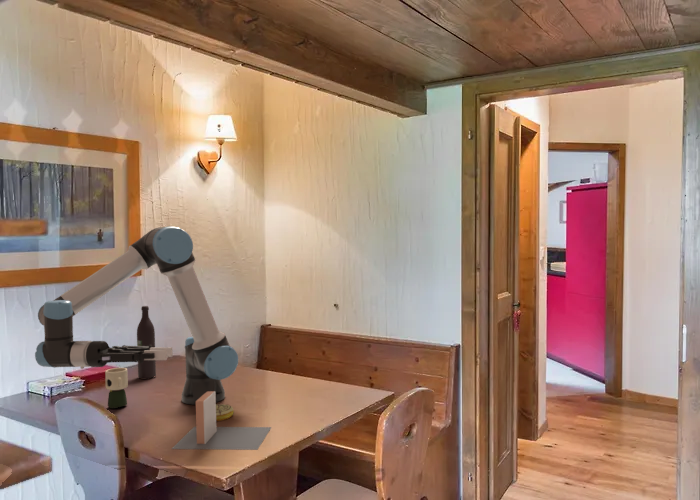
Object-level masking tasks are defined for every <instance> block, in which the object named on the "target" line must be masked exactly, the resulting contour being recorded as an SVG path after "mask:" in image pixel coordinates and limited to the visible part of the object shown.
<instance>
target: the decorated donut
mask: <svg viewBox="0 0 700 500" xmlns="http://www.w3.org/2000/svg"><path fill="white" fill-rule="evenodd" d="M233 415H234V407H233V406H232V405H230V404H223V403H221V404H220V403H219V404H216V422H221V421H225V420H228V419H230V418H232V417H233Z"/></svg>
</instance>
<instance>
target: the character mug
mask: <svg viewBox="0 0 700 500" xmlns="http://www.w3.org/2000/svg"><path fill="white" fill-rule="evenodd" d="M104 373H105V389H106V390H108V391H109V392H108V398H107V407H108V408H109V407H110V408H109V409H116V408H118V407H119V408H120V407H125V406H127V405H128V399H127V398H128V397H127V395H126V394H127V393H126V390H125V389H127V388H128V386H129V385H128V384H129V383H128V368H126V367H115V368H110V369H106V370H105V371H104ZM113 407H114V408H113Z"/></svg>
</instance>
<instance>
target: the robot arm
mask: <svg viewBox="0 0 700 500" xmlns="http://www.w3.org/2000/svg"><path fill="white" fill-rule="evenodd" d="M193 250H194V244H193V239H192V238H191V235H190V234H189V233H188V232H187V231H186V230H184V229H183V228H180V227H176V226H171V225H170V226H168V225H167V226H163V227H155V228H153V229H151V230H149V231H148V232H146V234H144V235H143V236H142V237H140V238H138V240H136V241H135V242H133V243H132V244H131V245H129V246H128V249H127V251H126V252H124V253H123V254H121V255H120V256H118V257H116V258H115V259H114V260H111V261H110V262H109V263H108V264H106V265H104V266H103V267H101V268H100V269H98V270H97V271H95V272H94V273H92V274H91V275H89V276H88V277H86V278H85V279H84V280H82V281H80V282H79V283H77V284H76V285H75V286H73V287H71V288H70V289H68V290H67V291H65V292H63V294H61V295H59V296H57V297H56V298H55V299H53V300H48V301H45V303H43V304H42V305H41V307H39V309H38V311H37V317H38V320H39V323H40V324H41V325H42V326H43V329H44V340H43V341H41V342H39V343H38V345H37V346H36V348H35V349H36V351H35V353H34V359H35V361H36V363H37V364H38V365H39V366H40V367H44V368H47V367H48V368H79V367H80V369H81V370H83V369H85V368H89V367H90V368H103V367H105V366H106V365H107V364H108V363H138V361H140V363H143V359H144V360H156V361H167V360H168V358H172V357H173V354H174V353H173V346H172V347H171V346H170V347H156V346H155V347H152V345H149V346H137V345H125V344H124V345H121V346H119V345H113V346H111V347H110V346H109V344H108V342H107V341H105V340H93V341H92V340H74V326H73V325H74V324H73V322H74V321H73V320H74V318H73V317H74V316H76V314H78V313H80V312H81V311H83V310H84V309H86V308H88V306H90V305H92V304H93V303H95V302H96V301H98V300H99V299H100V298H101V297H103V296H105V295H106V294H108V293H109V292H111V291H112V290H113V289H114V288H116V287H118V286H119V285H121V284H122V283H123V282H125V281H127V280H128V279H129V278H131V277H132V276H134V275H136V274H137V273H139V272H140V271H142V270H148V269H149V268H151V267H153V266H154V265H157V267H158V270H159V272H160V274H161V275H164V276H166V277H167V278H168V280H169V284H170V286H171V289H172V290H173V292H174V295H175V298H176V300H177V302H178V305H179V308H180V310H181V312H182V315H183V318H184V319H185V320H184V321H185V322H186V325H187V327H188V329H189V332H190V335H191V336H188V337H187V338H186V339H185V345H184V349H185V351H184V354H185V382H184V386H183V389H182V392H181V402H182V403H183V404H187V405H194V406H196V401H197V400H198V399H199V398H200V397H201V396H202V395H204V394H205V393H206V392H207V391H215V393H216V403H218V402H221V401H222V400H224V399H225V398H226V396H225V395H226V391H225V389H224V386H223V383H222V380H225V379H227V378H229V377H231V376H232V375H233V374H234V373H235V372H236V369H237V367H238V366H239V365H238V364H239V354H238V352H237V351H236V350H235V348H234V347H232V346H230V344H229V341H228V338H227V336H226V333H225V332H222V331H220V330H219V328H218V325H217V323H216V321H215V319H214V315H213V313H212V311H211V308H210V306H209V303H208V300H207V299H206V296H205V294H204V291H203V289H202V286H201V283H200V281H199V278H198V276H197V274H196V272H195V268H194V265H195V263H196V258H195V256H194V254H193Z"/></svg>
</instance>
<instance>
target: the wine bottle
mask: <svg viewBox="0 0 700 500" xmlns="http://www.w3.org/2000/svg"><path fill="white" fill-rule="evenodd" d="M140 309H141V319H140V321H139V323H138V325H137V329H136V346H149V345H152V347H156V335H155V333H156V332H155V327H154V324H153V322H152V320H151V318H150V315H149V310H150V309H149V306H148V305H142V306H141V308H140ZM156 362H157V360H144V359H143V363H140V361H138V362H137V377H139V378H151V377H154V376H157V370H156V369H157V366H156ZM139 378H138V379H139ZM154 378H155V377H154ZM151 379H152V378H151Z"/></svg>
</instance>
